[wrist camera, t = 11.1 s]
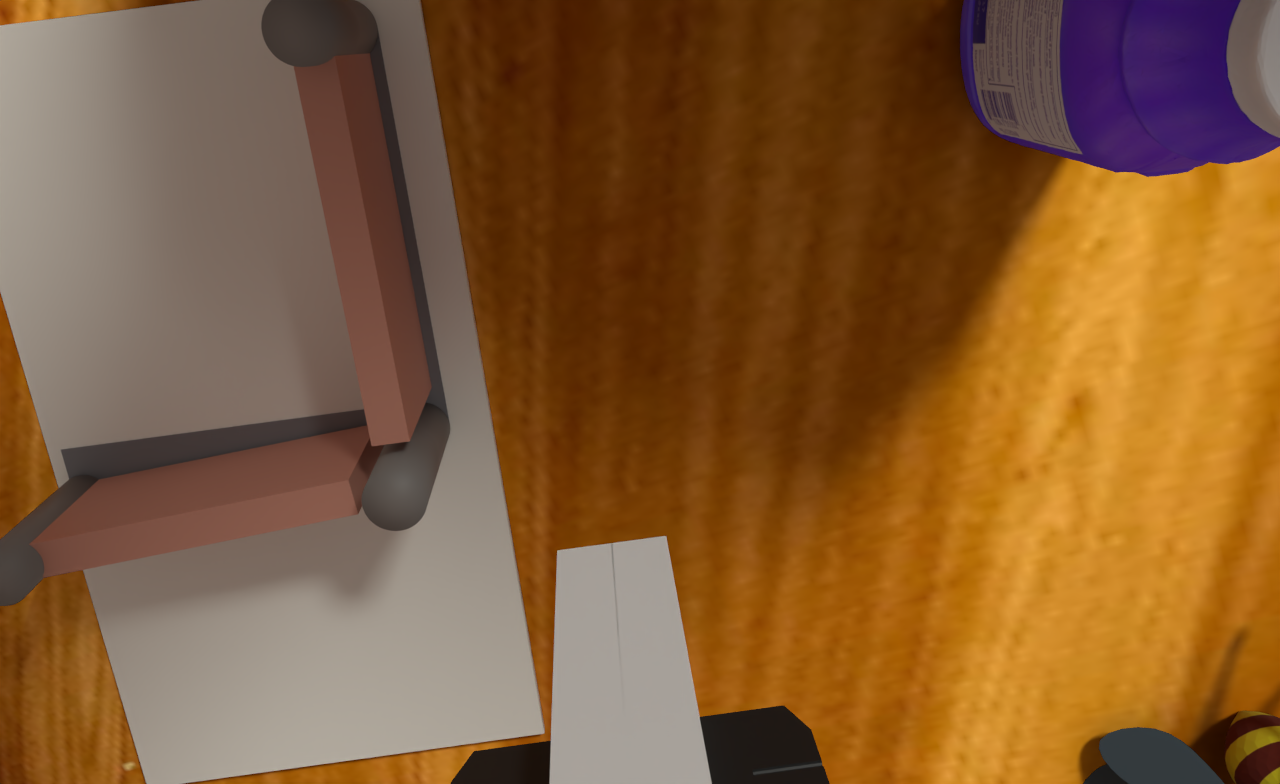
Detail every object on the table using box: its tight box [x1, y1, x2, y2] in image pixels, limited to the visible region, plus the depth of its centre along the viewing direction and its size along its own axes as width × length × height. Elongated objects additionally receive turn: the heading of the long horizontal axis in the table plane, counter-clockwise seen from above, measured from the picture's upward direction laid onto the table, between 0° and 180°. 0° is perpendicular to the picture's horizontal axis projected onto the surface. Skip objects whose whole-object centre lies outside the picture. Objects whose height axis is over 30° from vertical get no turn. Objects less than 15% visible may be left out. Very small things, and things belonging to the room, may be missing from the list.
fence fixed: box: [261, 0, 450, 531], centre depth 37 cm, size 16×2×7 cm, turn 7°
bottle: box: [960, 0, 1280, 177], centre depth 31 cm, size 7×6×17 cm
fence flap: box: [0, 425, 384, 606], centre depth 39 cm, size 12×2×7 cm, turn 101°
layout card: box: [0, 0, 545, 784], centre depth 42 cm, size 29×16×1 cm, turn 7°
